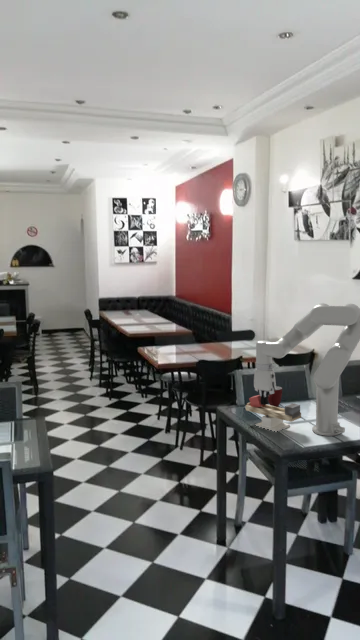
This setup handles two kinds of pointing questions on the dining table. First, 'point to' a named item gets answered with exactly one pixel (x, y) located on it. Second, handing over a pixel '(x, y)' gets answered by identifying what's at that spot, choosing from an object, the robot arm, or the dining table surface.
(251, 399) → the block
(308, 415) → the dining table surface
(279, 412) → the beam
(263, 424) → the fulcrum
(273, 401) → the mug
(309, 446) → the dining table surface
